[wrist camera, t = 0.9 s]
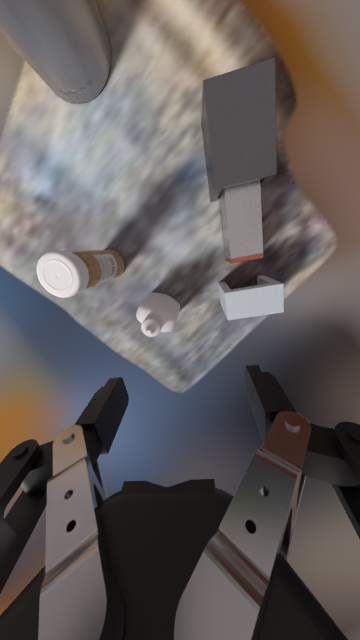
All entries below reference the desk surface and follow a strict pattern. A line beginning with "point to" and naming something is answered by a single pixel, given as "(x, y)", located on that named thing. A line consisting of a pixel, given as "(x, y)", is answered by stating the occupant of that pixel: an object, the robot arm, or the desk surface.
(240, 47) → the desk surface
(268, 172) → the sleeve
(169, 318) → the eye dropper bottle
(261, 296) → the socket block
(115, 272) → the sprinkles bottle
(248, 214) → the grey square post
